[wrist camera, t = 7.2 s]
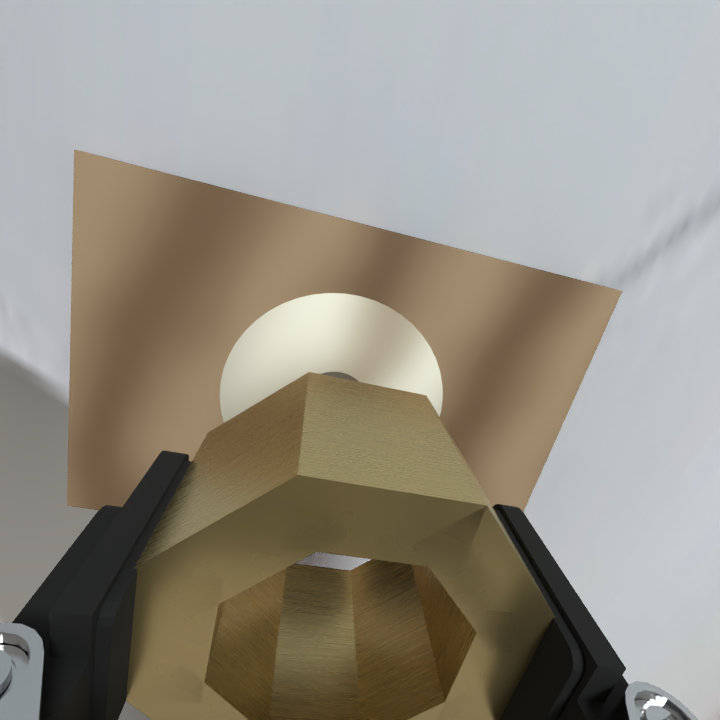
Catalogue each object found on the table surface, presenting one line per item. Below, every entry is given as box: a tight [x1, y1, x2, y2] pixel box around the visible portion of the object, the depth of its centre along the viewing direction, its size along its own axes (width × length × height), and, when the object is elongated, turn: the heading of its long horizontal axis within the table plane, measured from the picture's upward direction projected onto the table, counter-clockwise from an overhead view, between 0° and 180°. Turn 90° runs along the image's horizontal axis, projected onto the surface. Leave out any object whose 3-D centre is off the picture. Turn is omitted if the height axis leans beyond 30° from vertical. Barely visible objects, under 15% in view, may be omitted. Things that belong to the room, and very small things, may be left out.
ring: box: [126, 372, 556, 720], centre depth 9 cm, size 7×7×4 cm
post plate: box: [67, 150, 622, 511], centre depth 15 cm, size 20×14×7 cm
